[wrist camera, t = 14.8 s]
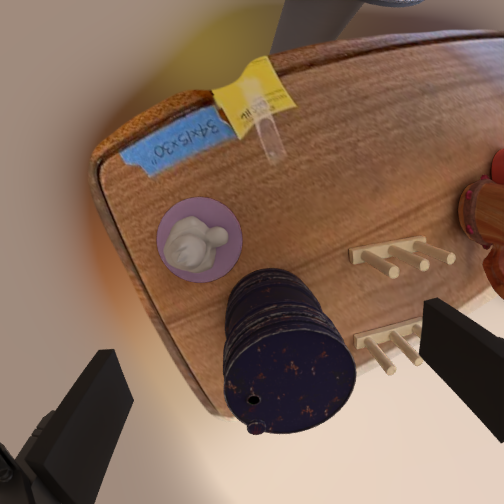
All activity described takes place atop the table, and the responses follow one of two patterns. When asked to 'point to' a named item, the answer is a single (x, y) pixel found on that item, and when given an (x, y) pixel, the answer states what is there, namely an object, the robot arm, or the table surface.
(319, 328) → the dark blue barrel
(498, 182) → the flower pot
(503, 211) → the mug
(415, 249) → the rack
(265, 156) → the table surface
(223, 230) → the grey lumpy piece
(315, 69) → the table surface
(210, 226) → the purple coaster
